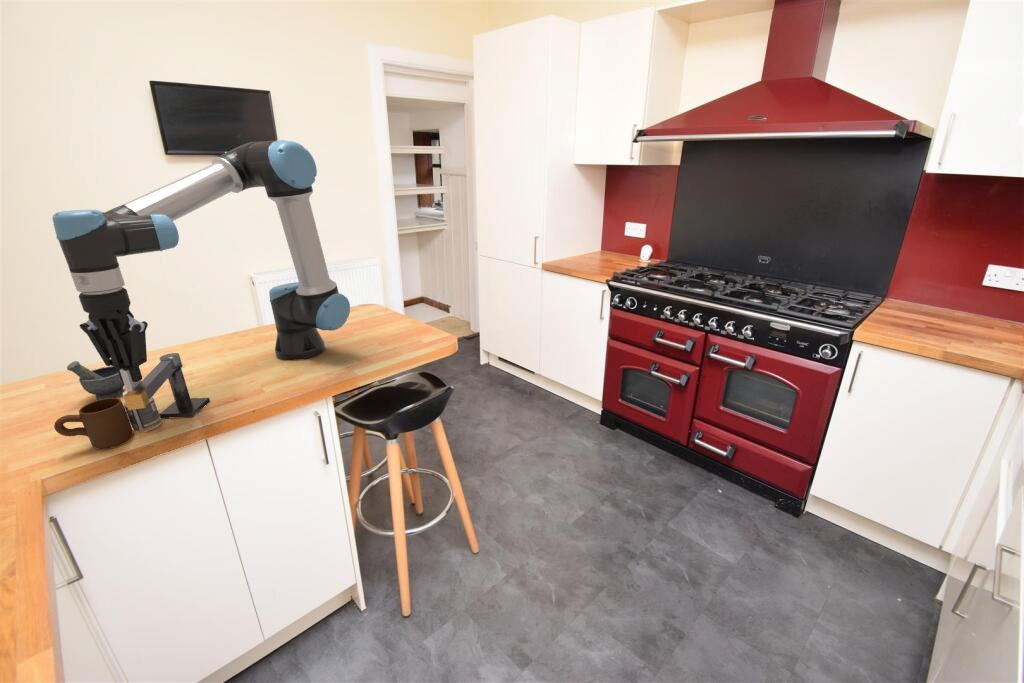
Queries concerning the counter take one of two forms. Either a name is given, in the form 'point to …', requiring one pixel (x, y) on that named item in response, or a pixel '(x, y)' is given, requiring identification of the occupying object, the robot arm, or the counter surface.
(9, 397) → the counter surface
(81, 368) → the mortar and pestle
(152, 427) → the pill bottle
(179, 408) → the post
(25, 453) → the counter surface
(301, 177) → the robot arm
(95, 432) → the mug
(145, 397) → the bar
